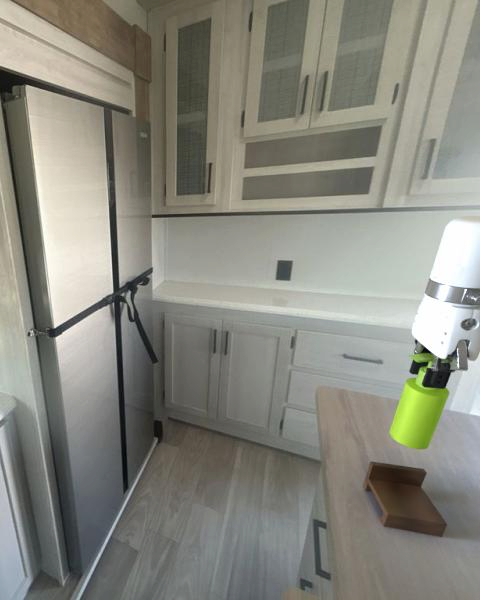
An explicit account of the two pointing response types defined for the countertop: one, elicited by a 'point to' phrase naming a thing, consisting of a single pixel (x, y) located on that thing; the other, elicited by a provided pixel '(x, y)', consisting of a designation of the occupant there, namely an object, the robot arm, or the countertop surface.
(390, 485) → the walnut shelf
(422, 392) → the soap dispenser
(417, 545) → the countertop surface
